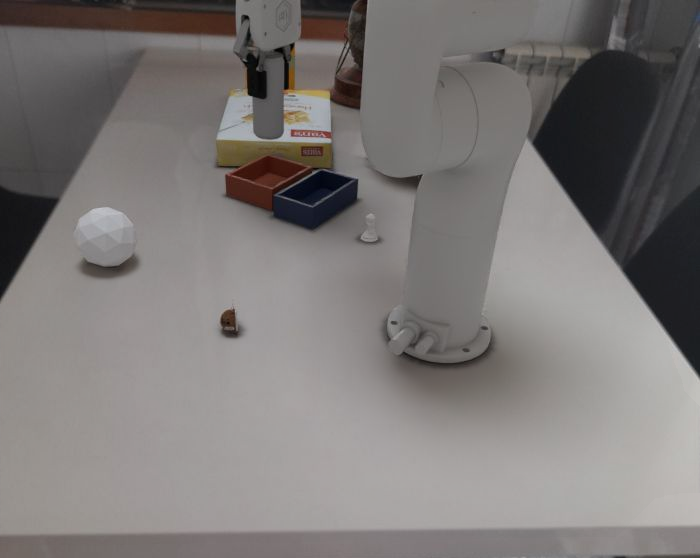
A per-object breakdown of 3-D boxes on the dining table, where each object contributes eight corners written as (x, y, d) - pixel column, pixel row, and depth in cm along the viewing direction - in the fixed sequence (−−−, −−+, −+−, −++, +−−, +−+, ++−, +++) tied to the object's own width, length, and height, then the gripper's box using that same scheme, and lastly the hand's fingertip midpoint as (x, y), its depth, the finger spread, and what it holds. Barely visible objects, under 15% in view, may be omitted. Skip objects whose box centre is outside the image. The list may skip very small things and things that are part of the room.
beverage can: (247, 136, 111) (244, 55, 104) (264, 127, 115) (262, 48, 108) (273, 143, 110) (272, 61, 103) (290, 133, 113) (290, 54, 106)
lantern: (330, 80, 169) (335, -66, 151) (410, 86, 169) (425, -60, 151) (324, 106, 153) (329, -53, 136) (413, 112, 153) (429, -46, 136)
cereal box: (330, 88, 145) (334, 139, 122) (329, 116, 148) (333, 170, 126) (229, 86, 144) (214, 137, 121) (230, 114, 147) (217, 168, 125)
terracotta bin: (272, 210, 112) (272, 189, 110) (226, 195, 116) (224, 174, 114) (312, 187, 120) (312, 166, 118) (267, 173, 124) (267, 153, 121)
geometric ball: (127, 274, 100) (158, 231, 97) (93, 283, 92) (126, 236, 90) (87, 237, 100) (117, 193, 97) (51, 243, 93) (82, 195, 90)
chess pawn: (377, 236, 107) (379, 211, 105) (378, 242, 106) (380, 218, 103) (360, 235, 107) (361, 211, 105) (360, 242, 106) (362, 217, 103)
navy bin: (312, 229, 108) (312, 207, 106) (273, 216, 111) (273, 195, 108) (357, 199, 117) (358, 179, 115) (320, 188, 120) (320, 167, 118)
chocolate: (222, 322, 87) (220, 294, 85) (240, 322, 87) (239, 294, 85) (218, 336, 85) (217, 308, 82) (237, 336, 85) (236, 308, 83)
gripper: (250, -33, 90) (254, 112, 101) (323, -46, 102) (320, 84, 113) (203, -41, 93) (212, 101, 104) (280, -53, 105) (281, 75, 116)
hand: (268, 91), depth 108 cm, fingers closed on beverage can, 4 cm apart
